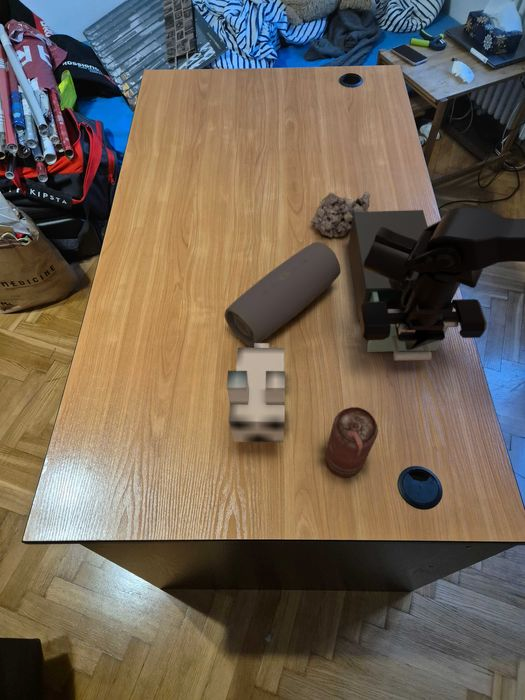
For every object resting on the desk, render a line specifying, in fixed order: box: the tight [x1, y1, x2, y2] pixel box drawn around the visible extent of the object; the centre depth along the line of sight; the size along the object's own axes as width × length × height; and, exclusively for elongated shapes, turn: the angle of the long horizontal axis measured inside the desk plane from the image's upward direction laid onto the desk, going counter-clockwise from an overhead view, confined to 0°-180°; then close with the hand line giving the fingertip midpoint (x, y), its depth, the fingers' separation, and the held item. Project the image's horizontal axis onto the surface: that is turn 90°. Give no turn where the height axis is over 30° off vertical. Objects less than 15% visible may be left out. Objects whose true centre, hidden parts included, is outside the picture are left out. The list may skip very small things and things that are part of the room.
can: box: [324, 406, 379, 478], centre depth 69 cm, size 6×6×14 cm
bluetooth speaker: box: [224, 241, 342, 347], centre depth 88 cm, size 23×9×10 cm, turn 134°
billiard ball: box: [386, 294, 405, 309], centre depth 85 cm, size 6×6×6 cm
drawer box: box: [347, 209, 429, 322], centre depth 91 cm, size 20×14×10 cm
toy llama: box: [226, 342, 286, 443], centre depth 72 cm, size 8×18×20 cm, turn 179°
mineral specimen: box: [309, 191, 371, 238], centre depth 101 cm, size 12×9×10 cm
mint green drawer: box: [366, 291, 449, 362], centre depth 85 cm, size 23×12×8 cm, turn 1°
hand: (408, 347), depth 80 cm, fingers closed
